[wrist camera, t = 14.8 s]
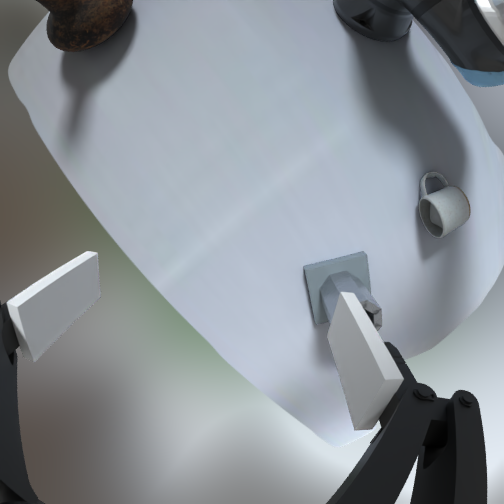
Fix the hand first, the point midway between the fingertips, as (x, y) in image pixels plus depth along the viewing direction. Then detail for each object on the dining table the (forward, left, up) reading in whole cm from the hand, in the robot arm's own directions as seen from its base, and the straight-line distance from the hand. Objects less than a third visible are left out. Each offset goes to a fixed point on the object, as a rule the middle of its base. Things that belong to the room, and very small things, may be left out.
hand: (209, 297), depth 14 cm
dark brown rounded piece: (+18, -46, -33) cm, 59 cm away
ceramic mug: (-33, +6, -33) cm, 47 cm away
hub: (-12, +18, -31) cm, 37 cm away
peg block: (-12, +18, -33) cm, 39 cm away
